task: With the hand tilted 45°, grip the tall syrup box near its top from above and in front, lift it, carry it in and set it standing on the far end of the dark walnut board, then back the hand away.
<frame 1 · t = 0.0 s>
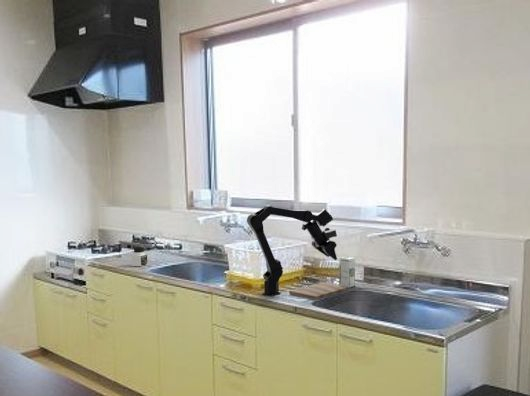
hand: (332, 258, 259), 15 cm above the table, tool tilted 35°, fingers open, 9 cm apart
medicine bottle: (139, 266, 329), on the table
syrup box: (347, 286, 263), on the table
walnut board: (310, 293, 250), on the table
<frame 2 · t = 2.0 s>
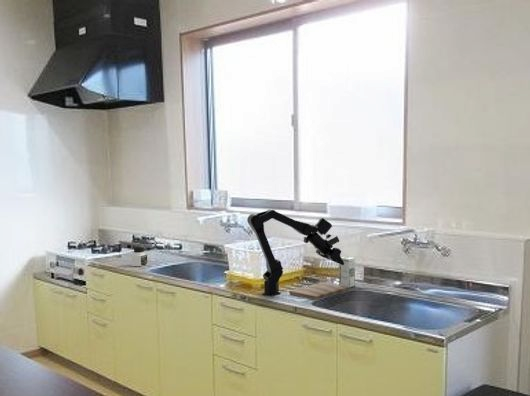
hand: (339, 262, 261), 12 cm above the table, tool tilted 45°, fingers open, 9 cm apart
nothing on the table moved.
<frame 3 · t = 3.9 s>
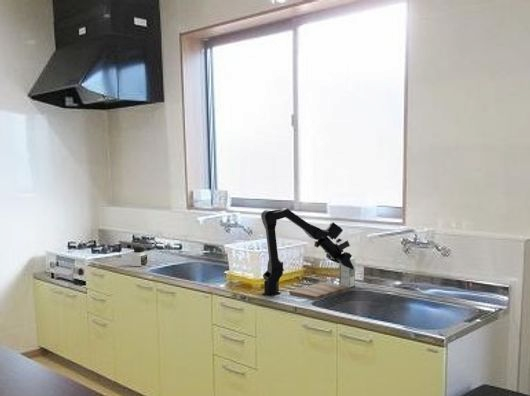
hand: (349, 267, 263), 10 cm above the table, tool tilted 45°, fingers closed on syrup box, 7 cm apart
syrup box: (347, 286, 263), on the table, touching gripper
everything else where it was.
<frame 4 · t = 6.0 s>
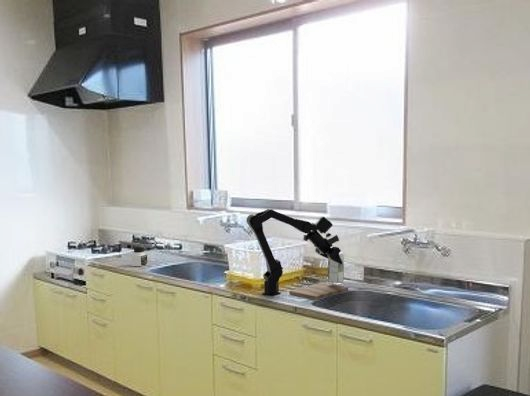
hand: (338, 262, 260), 13 cm above the table, tool tilted 45°, fingers closed on syrup box, 7 cm apart
syrup box: (335, 282, 260), point 3 cm above the table, touching gripper
everything else where it was.
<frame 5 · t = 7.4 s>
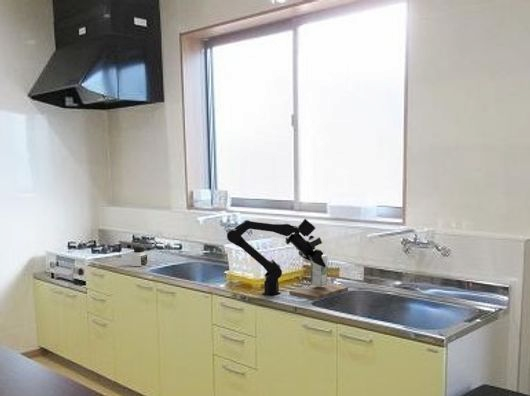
hand: (321, 265, 256), 12 cm above the table, tool tilted 45°, fingers closed on syrup box, 7 cm apart
syrup box: (319, 285, 256), point 3 cm above the table, touching gripper
everything else where it was.
when the fingers open (12 cm above the table, at t = 8.5 s): syrup box drops 1 cm, resting on walnut board.
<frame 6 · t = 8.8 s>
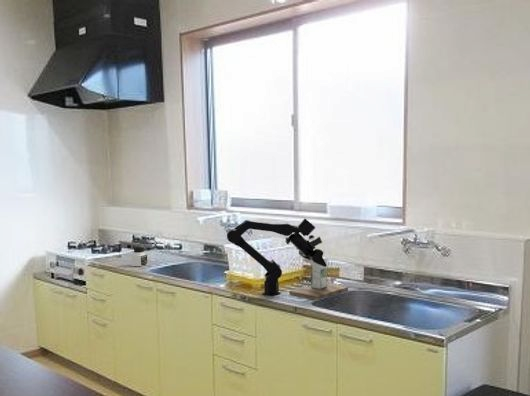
hand: (322, 264, 256), 13 cm above the table, tool tilted 45°, fingers open, 9 cm apart
syrup box: (319, 287, 256), point 1 cm above the table, touching walnut board
everything else where it was.
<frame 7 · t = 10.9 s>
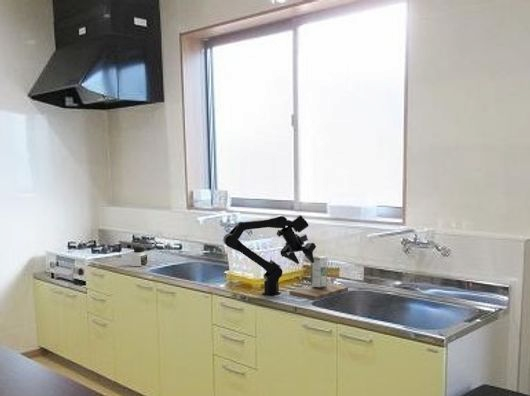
hand: (305, 263, 258), 13 cm above the table, tool tilted 35°, fingers open, 9 cm apart
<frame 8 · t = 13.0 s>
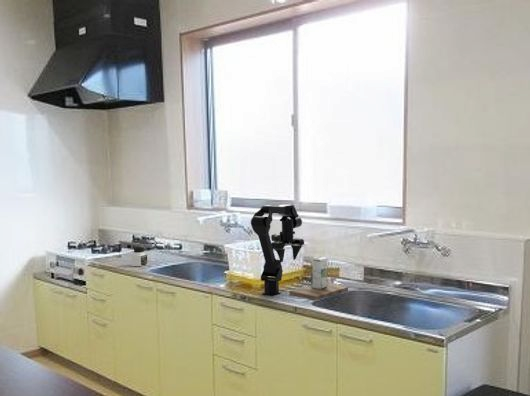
hand: (288, 260, 265), 13 cm above the table, tool pointing down, fingers open, 9 cm apart
at the end: syrup box inside the target area on the walnut board (0.2 cm from its centre), point 1.3 cm above the walnut board's base; syrup box tilted 0°; the gripper is holding nothing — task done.
